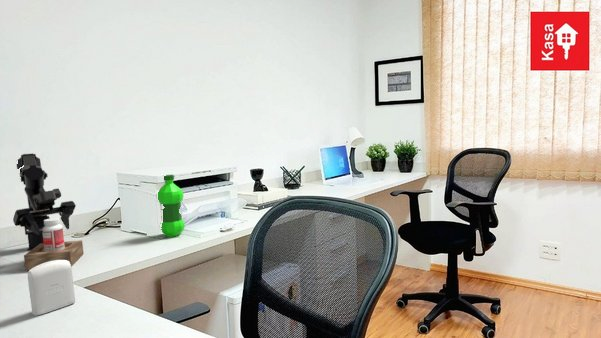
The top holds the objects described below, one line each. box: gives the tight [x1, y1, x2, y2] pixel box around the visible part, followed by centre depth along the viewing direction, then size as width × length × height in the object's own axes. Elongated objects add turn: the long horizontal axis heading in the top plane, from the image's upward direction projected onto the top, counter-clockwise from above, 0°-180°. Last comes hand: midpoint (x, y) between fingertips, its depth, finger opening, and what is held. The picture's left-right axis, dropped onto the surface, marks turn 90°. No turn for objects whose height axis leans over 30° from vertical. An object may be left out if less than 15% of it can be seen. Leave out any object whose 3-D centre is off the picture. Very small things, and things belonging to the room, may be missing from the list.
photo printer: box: [27, 260, 76, 316], centre depth 114 cm, size 10×4×12 cm, turn 140°
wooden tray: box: [23, 239, 85, 271], centre depth 153 cm, size 14×14×5 cm
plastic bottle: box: [157, 174, 186, 238], centre depth 182 cm, size 10×10×25 cm
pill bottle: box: [42, 217, 65, 252], centre depth 153 cm, size 6×6×11 cm
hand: (54, 231), depth 151 cm, fingers open, 9 cm apart
